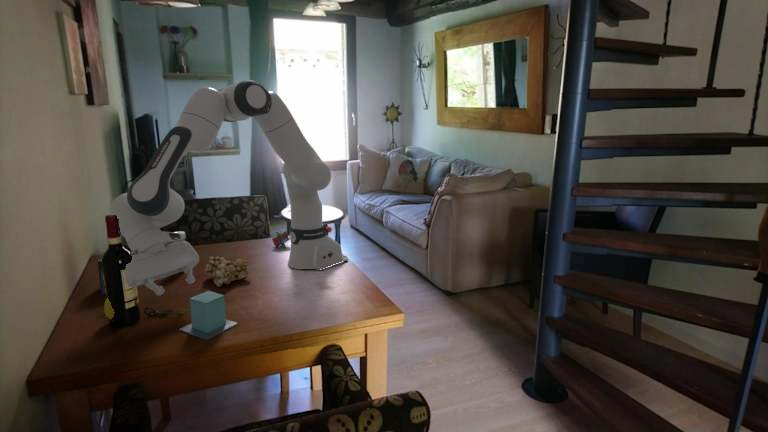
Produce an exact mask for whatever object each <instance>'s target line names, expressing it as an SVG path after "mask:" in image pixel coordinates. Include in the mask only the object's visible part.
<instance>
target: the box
mask: <svg viewBox="0 0 768 432" xmlns="http://www.w3.org/2000/svg"><path fill="white" fill-rule="evenodd" d="M104 254H105V253H100V254H99V257H98V260H97V267H98V268H97V269H98V270H97V271H98V278H99V288H100V289H99V290H100V294H101V295H106V294H105V285H104V280H103V274H102V258H103V255H104Z"/></svg>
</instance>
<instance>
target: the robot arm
mask: <svg viewBox="0 0 768 432" xmlns="http://www.w3.org/2000/svg"><path fill="white" fill-rule="evenodd" d="M250 118H252V119H254V120H255V121H256V122H257V123H258V125H259V127H260V128H261V130H262V132H263V133H264V135H265V138H267V141H268V142H269V144H270V146H271V147H272V150H273V151H274V152H275V154H276V155H277V156H278V157H279V158H280V159H281V161H282V162H283V166H282V174H283V176H284V178H285V183H286V188H287V189H286V190H287V194H288V197H289V203H290V222H291V224H290V227H289V228H290V229H289V235H290V240H289V241H290V250H289V258H288V261H287V266H288V267H290V268H292V269H295V270H296V269H297V270H301V269H316V270H315V271H321V270H320V269H323V268H326V267H328V266H331V265H333V264H336V263H339V262H342V261H347V260H348V261H349V257H348V256H347V255H345V254H344V255H345V256H344V255H343V251H342V246H341V244H339V242H337V241H336V240H335V239H334V238H332V237H330V236H329V235H327V233H329V234H330V233H331V232H332V231H333V228H332V227H331V226H325V225H323V204H322V201H321V199H320V196H319V193H318V191H322V190H324V189H326V188H327V187H328V186H329V185H330V182H331V180H332V172H331V169H330V167H329V166H328V165H327V164H326V163H325V162H324V161H323V160H322V159H321V157H320V156H319V154H318V153H317V152H316V150H315V149H314V147H312V145H311V144H310V143H309V141H308V140H307V139H306V137H305V136H304V134H303V132H302V131H301V129H300V127H299V125H298V123H297V122H296V120H295V118H294V116H293V114H292V113H291V111H290V110H289V108H288V106H287V105H286V104H285V102H284V101H283V99H282V98H281V97H280V96H279V95H278V94H277V93H276V92H275V91H272V90H271V91H270V90H267V88H266V87H264V85H263V84H261V83H259V82H258V81H256V80H252V79H251V80H242V81H240V82H236V83H235V82H234V83H232V84H229V85H228V86H226V87H224V88H221V89H219V90H217V89H216V88H213V87H209V86H201V87H199V88H197V89H196V90H195V91H194V93H193V94H192V95H191V97H190V98H189V99H188V101H187V102H186V104H185V106H184V108H183V110H182V112H181V114H180V115H179V119H178V120H177V121H176V124H175V125H174V127H173V128H171V129H170V130H169V131H168V132H167V133H166V135H165V136H164V138H163V139H162V141H161V143H160V144H159V146H158V148H157V149H156V150H155V152H154V154H153V156H152V158H151V159H150V161H149V162H148V164H147V166H146V167H145V169H144V170H143V171H142V172H141V173H140V174H139V175H138V176H137V177H136V178H135V179H134V180H133V181H132V182H131V184H130V185H129V187H128V188H127V192H125V193H121V194H119V195H118V196H117V197H115V198H114V199H113V200H112V202H111V203H110V204H109V210H108V211H109V215H110V216H111V215H116V216H117V217H118V219H119V227H120V232H121V234H120V235H121V236H122V237H124V239H125V240H126V244H127V246H128V248H129V249H130V251H129V252H130V254H131V256H132V260H131V262H130V263H128V264H126V266H125V267H126V268H125V278H124V280H125V282H126V284H127V285H128V287H131V288H135V287H139V286H143V285H144V286H145V287H146V288H148V289H149V290H151V291H153V292H154V293H155V295H156V296H157V297H158V296H161V295H164V293H165V291H166V290H165V289H164V287H163V285H158V284H156V283H154V282H155V281H157V280H160V279H164V278H167V277H169V276H173V275H175V274H178V273H181V271H182V272H183V273H184V274H186V276H187V277H186V278H185V279H184V280H185V282H187V284H188V285H191V284H193V283H194V282H195V281H196V278H195V276H194V274H193V273H194V272H193V271H194V270H193V269H194V268H195V267H196V266H197V265H198V263H199V262H200V256H199V254H198V252H197V251H196V250H195V249H194V247H193V246H192V245H191V243H190V242H188V241H186V240H185V241H183V239H184V236H183V234H182V233H174V232H175V231H174V232H171V231H163V230H161V228H164V227H167V226H168V225H171V224H173V223H175V222H177V221H178V220H180V218H181V217H183V214H184V213H185V209H186V204H185V203H186V202H185V200H184V198H183V197H182V196H181V195H180V194H179V193H178V192H176V190H174V189H173V188H171V185H170V183H171V179H172V177H173V175H174V174H175V171H176V170H177V169H178V167H179V165H180V163H181V160H182V159H183V158H184V156H186V155H187V154H188V153H202V152H205V151H207V150H209V149H210V148H211V147H212V146H213V144H214V142H215V141H216V139H217V136H218V135H219V131H220V130H221V127H222V124H223V122H228V123H235V122H240V121H246V120H249V119H250ZM120 232H119V233H120ZM348 261H347V262H348Z"/></svg>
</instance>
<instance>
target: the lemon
mask: <svg viewBox="0 0 768 432" xmlns="http://www.w3.org/2000/svg"><path fill="white" fill-rule="evenodd" d="M103 307H104V314H105V316H106V317H107V319H109V320H111V319H112V318H113V317H114V313H115V312H114V309H113V308H112V306H111V302H110V301H109V299H108V297H107V298H106V299H105V302H104V306H103Z"/></svg>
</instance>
